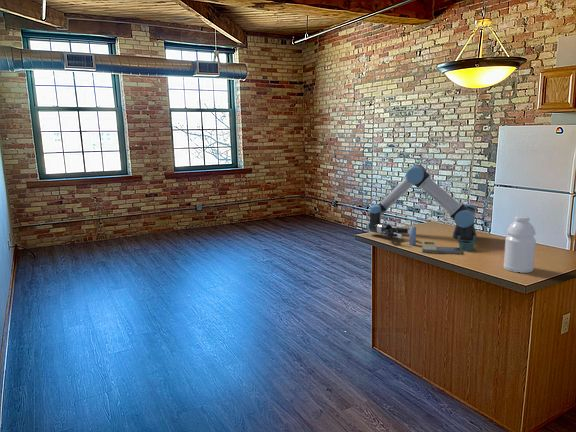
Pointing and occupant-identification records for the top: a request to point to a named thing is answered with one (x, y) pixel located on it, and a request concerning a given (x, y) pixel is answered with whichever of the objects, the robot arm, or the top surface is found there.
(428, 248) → the rail
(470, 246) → the bracket
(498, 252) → the top surface
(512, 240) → the bottle
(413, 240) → the peg
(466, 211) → the robot arm
